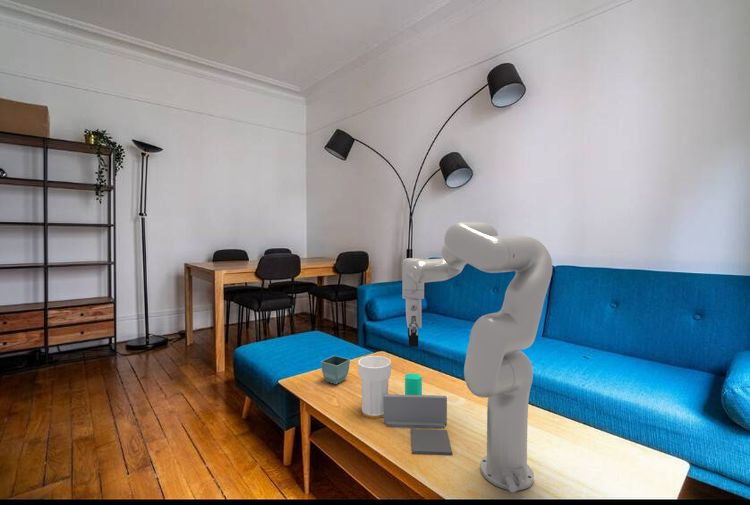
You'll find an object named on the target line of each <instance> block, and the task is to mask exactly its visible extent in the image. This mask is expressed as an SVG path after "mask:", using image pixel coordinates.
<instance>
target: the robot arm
mask: <svg viewBox="0 0 750 505" xmlns="http://www.w3.org/2000/svg"><path fill="white" fill-rule="evenodd" d="M443 240H444V243H443V245H442V247H441V255H442V258H426V259H424V258H420V257H419V258H418V257H408V258H404V259H403V260H402V277H401V278H402V280H401V281H402V285H401V286H402V294H401V296H402V299H405V318H406V325H407V338H408V347H410V348H411V347H412V348H418V347H419V333H418V332H419V330H418V329H421V328H422V325H423V324H422V300H424V299H425V283H433V282H443V281H447V280H449V279H451V278H454V277H456V276H457V275H459V274H460V273H462V271H463V269H464V268H465V266H466V265H467V264H468V265H470V266H472V267H474V268H475V269H478V270H479V271H482V272H484V273H489V274H491V273H492V274H494V273H495V274H498V273H508V272H515V275H514V277H513V278H512V279H511V281H510V282H509V284H508V286H507V288H506V290H505V293H504V299H503V303H502V305H501V309H500V310H499V311H497V312H492V313H487V314H484V315H481V317H479V318H477V320H476V321H475V322H474V324H473V325H472V327H471V330H470V334H469V340H468V344H467V350H466V354H465V355H466V356H465V362H464V367H463V375H464V376H463V377H464V382H465V384H466V386H467V389H468V390H469V391H470V392H471V394H473V395H474V396H476V397H477V398H478V397H479V398H482V399H483V398H485V399H487V405H486V407H487V408H486V410H487V411H486V455H485V456H484V457H483V458H481V461H480V465H479V469H480V472H481V474H482V475H483V477H484V479H486V480H487V481H488V482H489V483H491V484H492V485H493V486H494V485H495V486H496V487H497V488H501V489H505V490H507V491H509V492H510V493H513V494H514V493H516V492H518V491H524V490H525V489H526V490H527V489H528V488H530V487H531V486H532V485H533V483H534V476H535V475H534V472H533V470H532V468H531V467H530V466H529V465H528V420H529V419H528V418H529V400H530V392H531V387H532V383H533V376H534V369H533V365H532V362H531V360H530V359H529V357H528V356H527V355H526V354H525V352H523V350H525V349H528V348H529V347H531V346H532V345H533V344H534V342H535V339H536V337H537V332H538V328H539V326H540V325H539V324H540V320H541V317H542V313H543V309H544V303H545V299H546V295H547V292H548V289H549V286H550V282H551V278H552V276H553V260H552V257H551V254H550V252H549V250H548V249H547V247H546V246H545V245H544V244H543V243H542V242H541V241H540V240H538V239H536V238H534V237H531V236H528V235H527V236H526V235H499V233H498V231H497V228H495V227H494V226H493V225H491V224H490V223H487V222H483V221H460V222H455V223H453V224H452V225H450V226H449V227H448V228H447V230H446V232H445V235H444V239H443Z"/></svg>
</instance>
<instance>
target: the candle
mask: <svg viewBox="0 0 750 505" xmlns="http://www.w3.org/2000/svg"><path fill="white" fill-rule="evenodd" d="M404 395H423V376H422V375H420V374H419V373H414V371H413V373H412V372H408V373H406V374H405V375H404Z"/></svg>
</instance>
